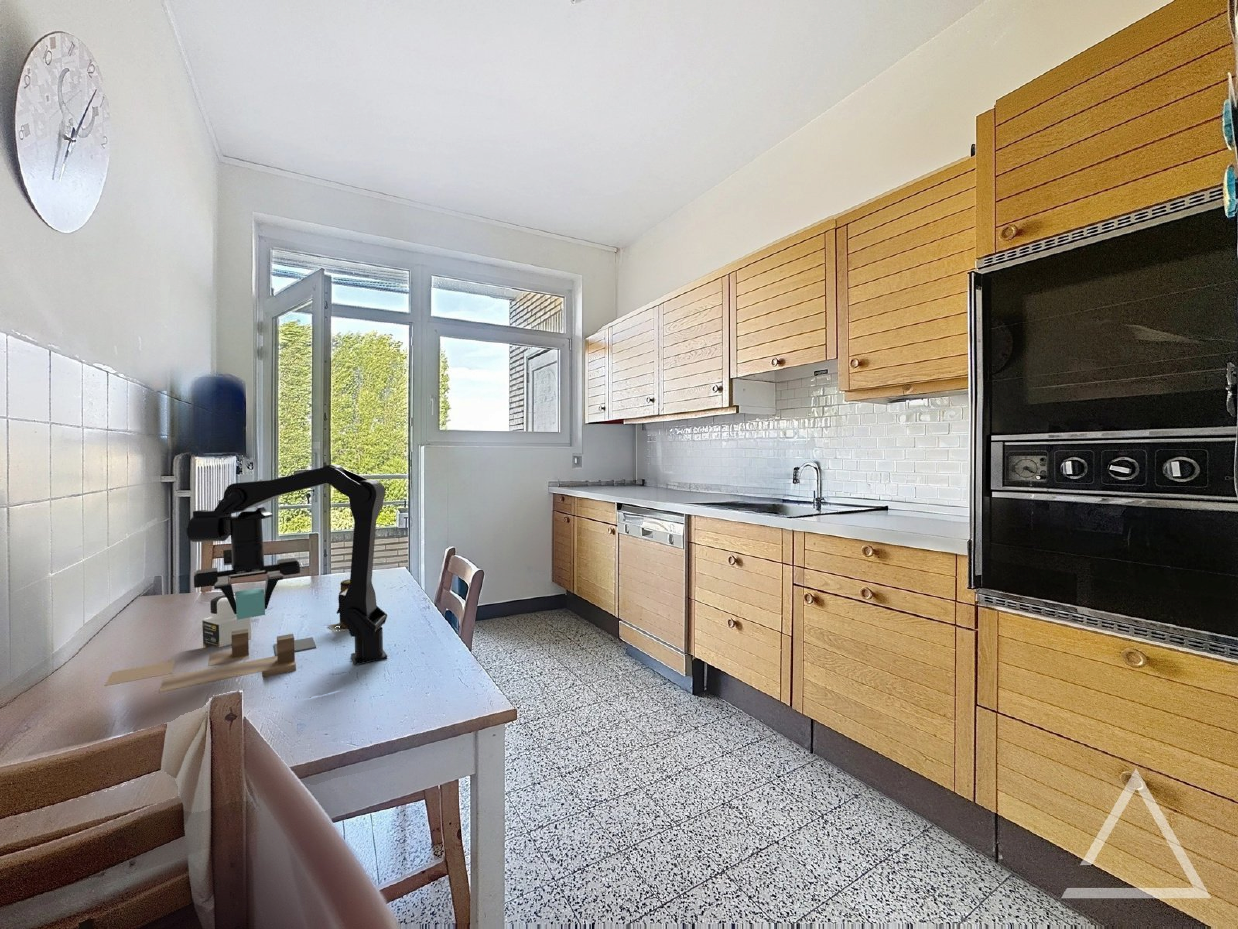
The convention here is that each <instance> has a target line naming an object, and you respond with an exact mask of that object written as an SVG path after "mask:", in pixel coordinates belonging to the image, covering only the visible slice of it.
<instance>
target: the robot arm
mask: <svg viewBox="0 0 1238 929" xmlns="http://www.w3.org/2000/svg"><path fill="white" fill-rule="evenodd" d="M327 484H328V485H330V486H332V487H333V488H334V489H335V490H337V492H339V493H340V494H342V495H344V496H346V497H348V498H349V508H350V512H351V515H352V518H353V523H354V525H353V534H352V536H353V537H352V549H351V564H350V574H349V576H350V577H349V579H350V585H349V588H348V589H347V590H345V591H344V592H342V593H341V594H339V593H338V598H337V599H338V608H337V611H336V614H337V615H338V614H339V621H340V620H341V622H342V623H343V624H344V625H345V626H347V628H348V630H347V631H348V633H349V635H350V637H352V638H354V652H353V653H351V654H350V657H351V659H352V660H353V663H354V664H355V665H361V664H366V663H370V662H374V661H378V660H379V661H380V660H385V659H387V658H388V654H387V653H386V651H385V650H384V643H383V642H384V640H383V639H384V638H383V637H384V636H383V635H384V634H383V633H384V632H383V627H382V626H383V625H385V624H386V621H387V618H388V614H387V613H386V612H385V611H383V610H382V609H381V607H379V606H378V605H377V596H376V592H375V587H374V586H373V569H374V568H373V566H374V555H375V541H376V530H377V529H376V527H377V520H378V517H379V515H380V513H381V510H382V508H383V504H384V501H385V497H386V493H387V492H386V488H385V486H384V484H382V482H380V481H379V480H377V479H368V478H366V477H364V476H362V475H360V474H358V473H355V472H354V471H353V472H352V471H350V470H348V469H346V468H345V467H343V466H342V465H339V464H326V465H323V466H322V467H320V468H315V469H311V470H307V471H306V470H305V471H301V472H298V473H294V474H290V475H287V476H282V477H277V478H275V479H274V478H273V479H266V480H265V479H264V480H253V481H251V480H250V481H244V482H243V481H242V482H236V483H235V482H234V483H231V484H229V485H228V486H226V488H225V490H224V492H223V498H221V500H220V502H219V503H218V504H217V505H216V507H215V508H214V509H213V510H207V509H198V510H193V511H192V517H191V518H190V519H189V521H188V525H187V527H186V536H187V538H188V539H189V541H190V542H193V543H207V542H224V541H226V540H227V539H228V538H229V537H230V545H231V547H230V548H231V549H224V550H222V553H223V555H222V556H223V566H230V565H231V569H227V570H226V569H225V570H218V567H211V568H204V569H197V570H196V571H195V572H194V573H193V587H194V588H197V589H198V588H204V587H211V586H212V587H213V589H214V590H220V591H221V592H222V593H223V595H225V596H226V598H227V599H228V601H229V603H230V606H231V608H232V610H233V612H234V614H237V613H236V602H235V598H234V595H235V592H234V589H233V585H232V580H231V579H238V578H245V577H246V578H247V577H253V576H259V575H265V584H264V599H265V610H267V609H268V606H269V603H270V600H271V597H272V595H273V592H274V590H275V588H276V586H277V583H278V582H279V581H281V580H284V576H290V575H298V574H300V573H301V565H300V561H298V559H296V558H295V557H291V558H282V559H277V561H276V563H275V564H267V565H266V564H265V554H264V553H265V552H264V536H263V535H264V534H263V532H264V531H263V530H264V529H263V520H265V519H269V518H272V517H273V516H274V515H273V513H271V511H269V510H267V509H266V508H265V507H264V506H261V505H264V504H265V503H268V502H271V501H272V500H274V499H276V498H278V497H280V496H282V495H287V494H291V493H296V492H300V491H303V490H307V489H311V488H316V487H320V486H323V485H327ZM260 506H261V507H260ZM257 507H258V508H257ZM251 508H257V509H255V510H248V509H251ZM237 513H239V514H238V515H232V514H237Z"/></svg>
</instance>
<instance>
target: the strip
mask: <svg viewBox="0 0 1238 929" xmlns="http://www.w3.org/2000/svg"><path fill="white" fill-rule="evenodd" d="M294 640H295V636H294V633H288V634H283V635H278V636H276V644H277V656H276V655H275V656H274V655H273V656H268V657H262V658H258V659H254V660H249V661H244V662H239V663H232V664H228V665H222V666H218V667H212V668H207V669H201V670H197V671H196V670H195V671H190V672H187V673H182V674H181V673H180V674H175V675H170V676H165V677H163V680H162V683H161V686H160V689H159V693H164V692H168V691H174V690H178V689H182V688H183V689H184V688H187V687H192V686H197V685H202V684H207V683H212V682H217V681H222V680H227V679H233V678H237V677H242V676H247V675H252V674H256V673H261V676H262V677H263V678H264V677H269V676H274V675H279V674H283V673H288V672H292V671H293V672H294V671H296V670H297V665H296V664H297V663H296V655H295V653H296V652H295V648H294Z"/></svg>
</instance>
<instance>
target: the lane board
mask: <svg viewBox="0 0 1238 929" xmlns="http://www.w3.org/2000/svg"><path fill="white" fill-rule="evenodd" d="M175 662H176V660H172V661H166V662H160V663H156V664H155V663H154V664H150V665H149V664H148V665H144V666H137V667H134V668H133V667H132V668H127V669H121V670H116V671H111V674H110V675H109V677H108V679H107V681H106V682H105V684H104V687H107V686H112V685H116V684H118V685H119V684H122V683H128V682H132V681H139V680H143V679H148V678H153V677H158V676H159V677H160V676H164V675H169V674H172V673H173V669H174V666H175Z"/></svg>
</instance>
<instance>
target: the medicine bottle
mask: <svg viewBox="0 0 1238 929" xmlns="http://www.w3.org/2000/svg"><path fill="white" fill-rule="evenodd" d="M234 598H235V594H234ZM235 602H236V600H235ZM251 619H252V617H250V618H244V619H239V620H237V616H236V614H234V612H233V610H232V608H231V606H230V603H229V601H228V599H227V598H226V596H225V595H224V594H223V595H219V596H216V597H214V598H212V599H211V600H210V616H209V617H204V618H203V619H201V620H202V647H203V649H205V648H210V647H216V648H222V647H225V646H229V645H232V637H231V634H232V631H237V630H243V629H248V641H252V620H251Z"/></svg>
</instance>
